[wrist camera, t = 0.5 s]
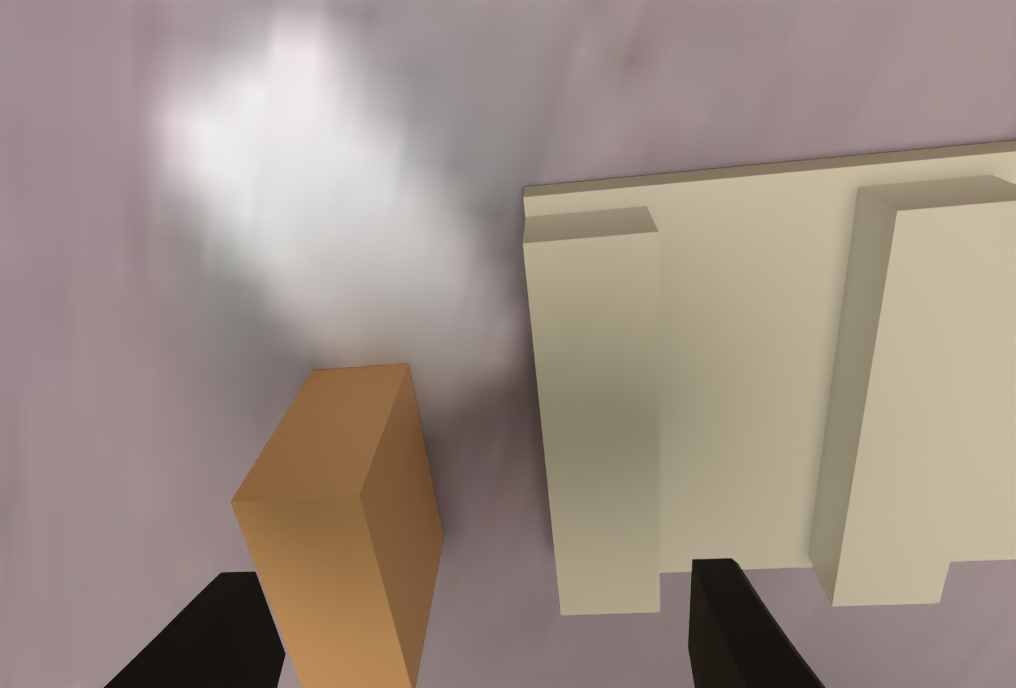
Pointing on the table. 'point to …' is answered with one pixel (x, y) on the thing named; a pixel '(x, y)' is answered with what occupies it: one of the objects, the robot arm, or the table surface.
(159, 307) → the table surface
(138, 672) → the robot arm
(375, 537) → the orange plug
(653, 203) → the comb rack
